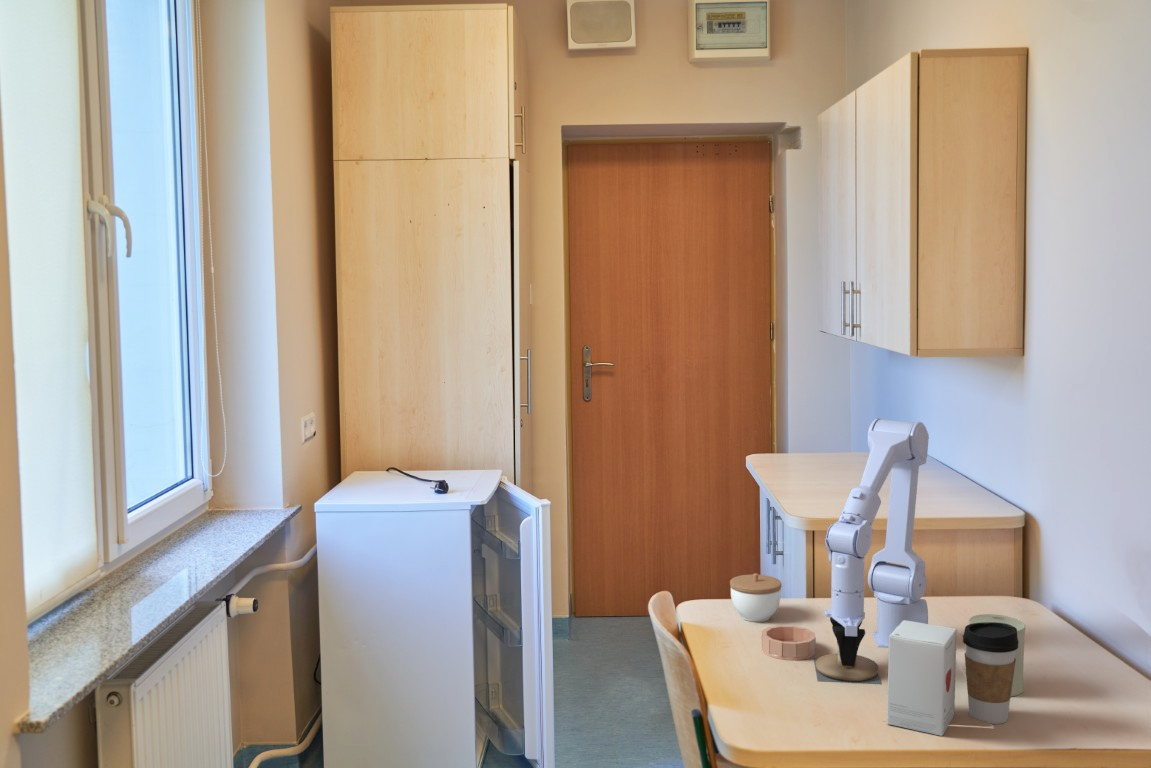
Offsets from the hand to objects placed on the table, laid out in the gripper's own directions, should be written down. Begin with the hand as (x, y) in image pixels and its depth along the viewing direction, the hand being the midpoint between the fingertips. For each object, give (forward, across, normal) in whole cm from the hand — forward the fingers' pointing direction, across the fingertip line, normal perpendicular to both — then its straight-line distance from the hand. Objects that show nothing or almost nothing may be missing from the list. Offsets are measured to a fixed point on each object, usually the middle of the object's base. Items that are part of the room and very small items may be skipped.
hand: (846, 661), depth 188 cm
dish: (+2, -9, -10) cm, 14 cm away
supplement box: (+2, +19, +10) cm, 22 cm away
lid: (+1, 0, 0) cm, 1 cm away
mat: (+2, 0, 0) cm, 2 cm away
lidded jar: (+2, -29, -16) cm, 33 cm away
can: (+2, +3, +25) cm, 25 cm away
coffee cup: (+2, +16, +21) cm, 27 cm away
